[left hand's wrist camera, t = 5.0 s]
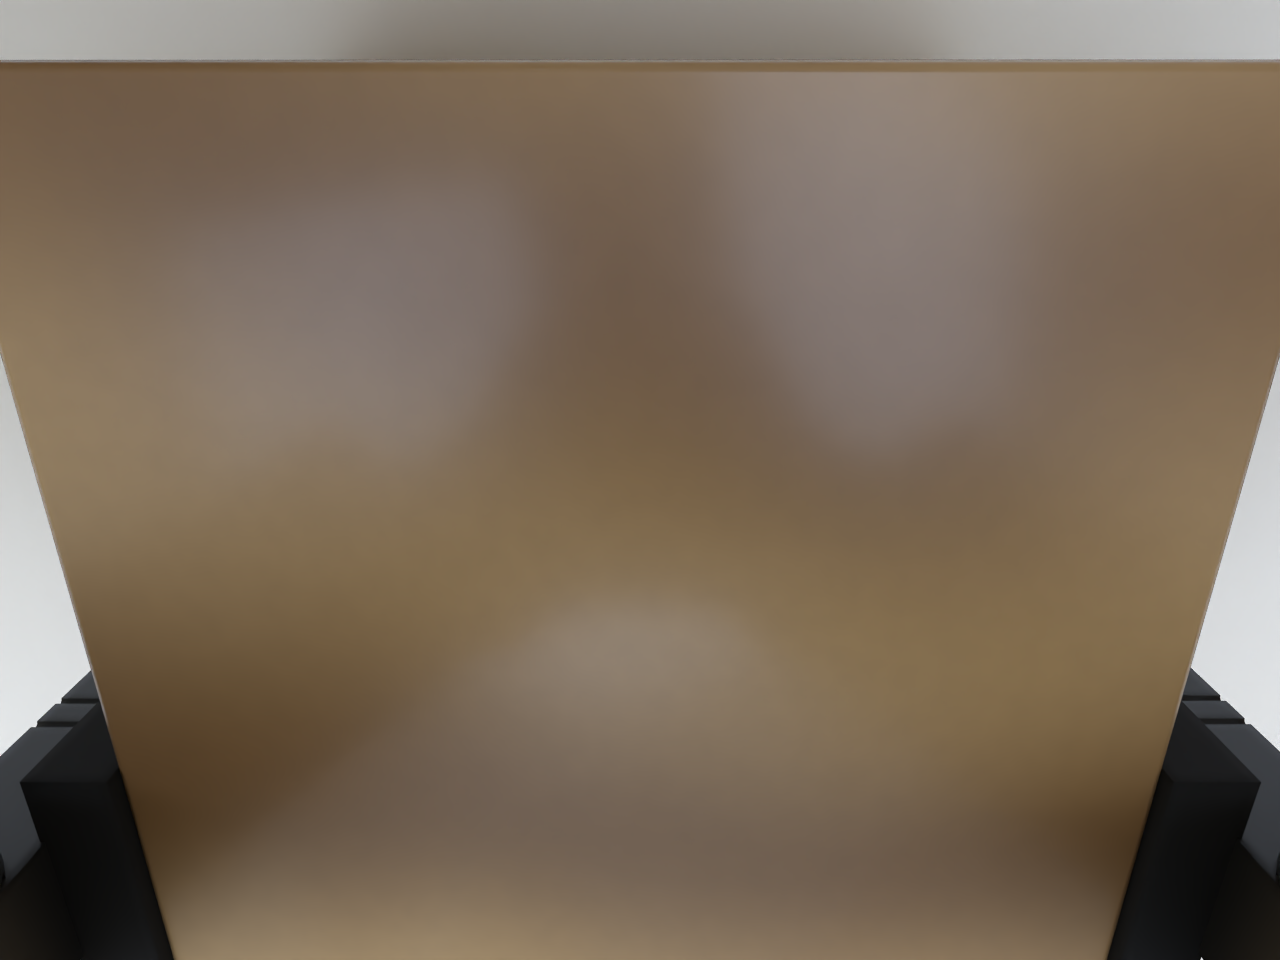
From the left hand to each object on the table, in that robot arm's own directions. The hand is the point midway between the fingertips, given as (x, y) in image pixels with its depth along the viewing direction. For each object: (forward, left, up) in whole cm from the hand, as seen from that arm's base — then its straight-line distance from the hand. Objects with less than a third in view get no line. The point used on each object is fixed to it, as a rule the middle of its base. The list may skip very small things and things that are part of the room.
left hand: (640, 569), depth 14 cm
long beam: (+30, -13, -1) cm, 33 cm away
